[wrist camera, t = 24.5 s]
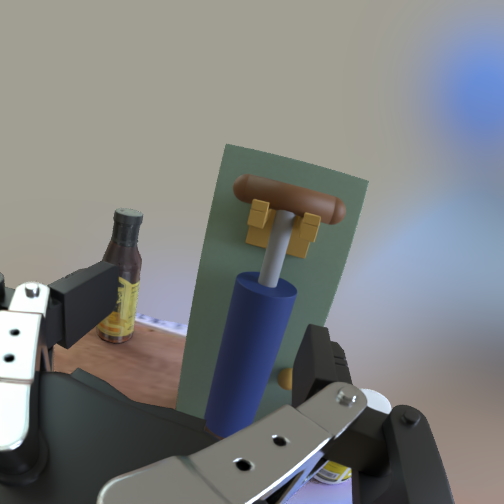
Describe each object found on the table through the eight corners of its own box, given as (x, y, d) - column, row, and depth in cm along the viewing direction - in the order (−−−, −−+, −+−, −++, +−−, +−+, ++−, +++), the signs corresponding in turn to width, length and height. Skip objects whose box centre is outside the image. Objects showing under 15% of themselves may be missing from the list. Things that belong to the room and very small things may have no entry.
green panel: (268, 485, 24) (395, 181, 16) (155, 454, 25) (203, 131, 17) (275, 419, 35) (357, 180, 27) (185, 394, 35) (235, 149, 28)
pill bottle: (345, 447, 31) (385, 384, 28) (358, 483, 25) (407, 421, 22) (300, 447, 30) (335, 381, 27) (308, 487, 24) (353, 424, 22)
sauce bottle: (88, 331, 42) (95, 206, 37) (115, 319, 47) (126, 204, 42) (115, 351, 39) (125, 217, 34) (142, 337, 45) (158, 215, 40)
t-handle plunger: (269, 415, 28) (343, 198, 22) (265, 447, 23) (355, 202, 18) (194, 395, 28) (241, 171, 23) (180, 425, 24) (230, 169, 18)
